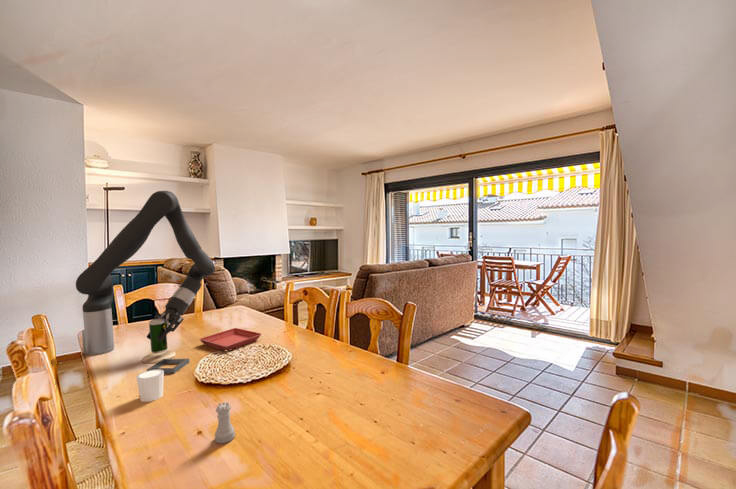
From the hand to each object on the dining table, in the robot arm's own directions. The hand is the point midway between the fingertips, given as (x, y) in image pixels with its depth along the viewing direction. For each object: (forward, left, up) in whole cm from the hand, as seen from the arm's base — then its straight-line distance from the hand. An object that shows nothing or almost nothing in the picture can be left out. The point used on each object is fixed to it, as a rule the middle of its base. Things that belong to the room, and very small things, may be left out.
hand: (153, 339), depth 132 cm
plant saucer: (+22, +18, -8) cm, 29 cm away
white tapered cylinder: (+19, -29, -8) cm, 36 cm away
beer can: (+1, +2, -5) cm, 6 cm away
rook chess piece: (+50, -49, -8) cm, 70 cm away
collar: (+11, -8, -8) cm, 16 cm away
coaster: (+1, +2, -8) cm, 8 cm away
